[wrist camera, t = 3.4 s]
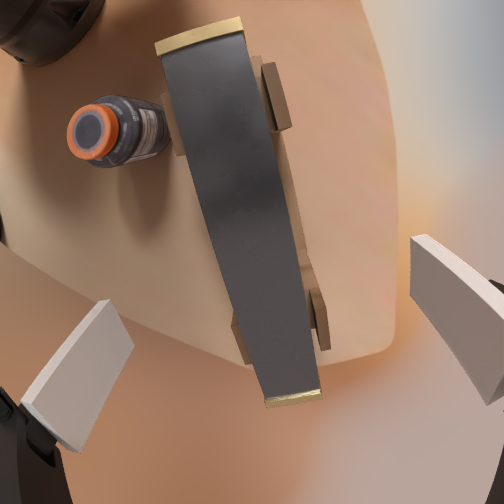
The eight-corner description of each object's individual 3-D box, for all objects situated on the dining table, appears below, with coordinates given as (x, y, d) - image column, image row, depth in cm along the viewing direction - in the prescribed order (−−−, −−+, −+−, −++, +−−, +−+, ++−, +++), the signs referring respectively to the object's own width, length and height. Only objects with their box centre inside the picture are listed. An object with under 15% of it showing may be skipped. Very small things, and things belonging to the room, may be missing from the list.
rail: (312, 346, 24) (322, 398, 18) (266, 354, 25) (266, 408, 19) (246, 52, 15) (239, 16, 10) (186, 69, 16) (154, 43, 10)
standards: (258, 317, 34) (255, 394, 23) (191, 76, 24) (145, 41, 12) (315, 306, 33) (335, 380, 22) (260, 58, 23) (259, 7, 12)
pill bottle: (112, 132, 26) (44, 138, 15) (148, 92, 24) (89, 74, 14) (146, 169, 27) (86, 190, 17) (185, 129, 26) (138, 126, 15)
